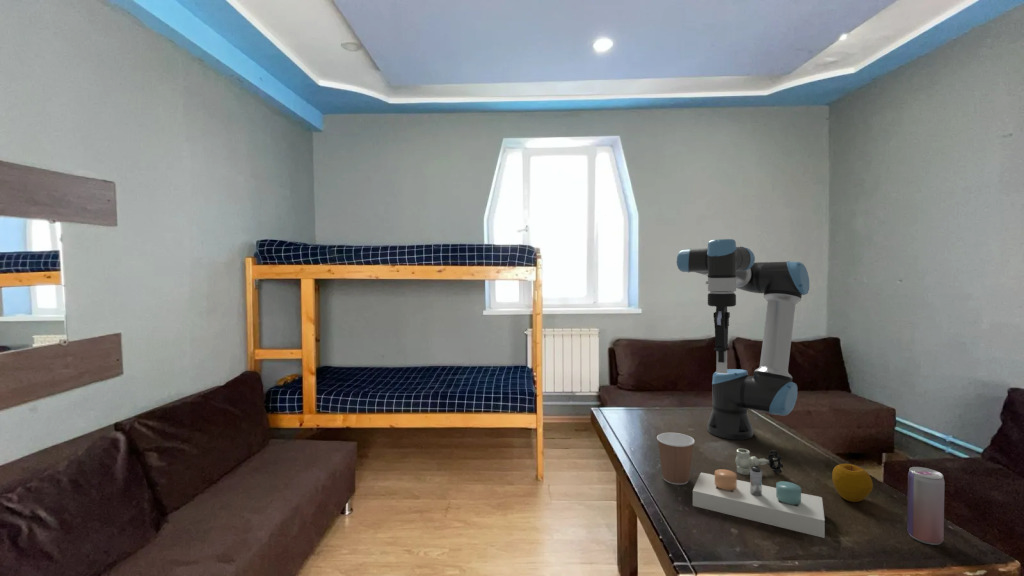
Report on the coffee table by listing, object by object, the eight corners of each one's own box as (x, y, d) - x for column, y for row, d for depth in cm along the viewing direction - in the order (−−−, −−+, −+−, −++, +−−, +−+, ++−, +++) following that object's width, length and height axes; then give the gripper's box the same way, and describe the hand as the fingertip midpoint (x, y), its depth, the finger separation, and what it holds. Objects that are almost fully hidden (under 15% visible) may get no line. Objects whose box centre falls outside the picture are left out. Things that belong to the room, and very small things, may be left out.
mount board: (700, 486, 127) (700, 472, 127) (821, 513, 112) (821, 497, 112) (692, 505, 117) (692, 490, 116) (824, 538, 102) (824, 520, 102)
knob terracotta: (716, 493, 121) (716, 467, 121) (737, 498, 119) (737, 471, 118) (713, 501, 117) (713, 475, 117) (735, 507, 114) (735, 479, 114)
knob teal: (776, 506, 114) (776, 479, 114) (800, 512, 111) (801, 484, 111) (775, 516, 110) (775, 488, 109) (801, 522, 107) (801, 493, 107)
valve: (741, 477, 132) (783, 477, 131) (741, 455, 132) (783, 455, 131) (731, 467, 138) (771, 467, 138) (731, 446, 138) (771, 446, 138)
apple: (881, 505, 115) (881, 471, 114) (852, 509, 113) (852, 474, 113) (851, 489, 123) (851, 457, 123) (823, 492, 122) (824, 460, 122)
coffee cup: (693, 473, 134) (693, 434, 134) (695, 490, 125) (695, 447, 124) (657, 469, 138) (657, 430, 137) (656, 484, 128) (656, 443, 128)
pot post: (750, 490, 116) (750, 464, 116) (762, 492, 114) (762, 466, 114) (749, 494, 114) (749, 468, 113) (761, 497, 112) (761, 470, 112)
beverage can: (900, 531, 104) (901, 467, 103) (923, 529, 104) (925, 465, 104) (925, 547, 98) (927, 479, 97) (951, 545, 98) (952, 477, 98)
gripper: (711, 291, 139) (711, 367, 140) (704, 293, 128) (704, 376, 129) (738, 291, 135) (738, 369, 136) (733, 293, 124) (733, 378, 125)
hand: (721, 372), depth 133 cm, fingers closed
